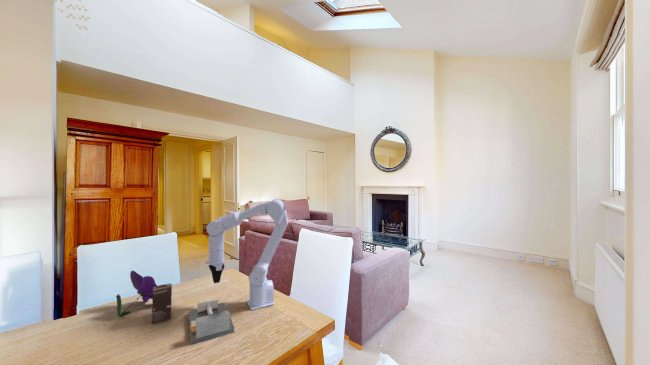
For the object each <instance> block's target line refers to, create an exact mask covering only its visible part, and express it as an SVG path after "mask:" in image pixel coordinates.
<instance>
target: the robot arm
mask: <svg viewBox="0 0 650 365" xmlns="http://www.w3.org/2000/svg"><path fill="white" fill-rule="evenodd" d="M258 214H262V215H267V214H268V216H269V217H270V218H272V220H273V222H274V224H275V225H274V228H273V230H272V232H271V234H270V236H269V239H268V241H267V242H266V245H265V247H264V250H263V251H262V254H261V256H260V258H259V260H258V261H257V264H255V265H254V266H253V269H252V271H251V272H250V274H249V275H248V282H249V299H247V300H246V303H247V305H248V307H249V310H251V311H254V310H257V309H262V308H265V307H270V306H274V305H275V301H274V299H275V298H274V297H275V296H274V293H275V290H274V289H275V288H274V283H273V280H272V279H268V278H267V275H268V272H269V266H270V264H271V262H272V260H273V257H274V256H275V253H276V251H277V249H278V247H279V244H280V242H281V240H282V238H283V235H284V234H285V232H286V229H287V228H288V224H289V220H288V213H287V207H286V205H285V203H284V201H283V200H282V199H278V198H274V199H273V200H268V201H264V202H261V203H259V204H257V205H254V206H253V207H251V208H248V209H246V210H243V211H242V212H238V211H229V212H228V214H226V215H223V216H222V217H221V216H219V217H217V219H214V220H212V221H211V222H209V223H208V224H207V225H206V233H207V234H208V260H206V261H205V264H206V265H208V268H209V270H210V272H211V278H212V281H213V284H217V283H218V284H220V281H221V278H222V274H223V271H224V269H225V264H224V263H225V260H226V259H225V231H228V230H231V229H233V228H236V227H238V226H241V225H242V223H243V221H244V220H246V219H250V218H252V217H254V216H256V215H258Z"/></svg>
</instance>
